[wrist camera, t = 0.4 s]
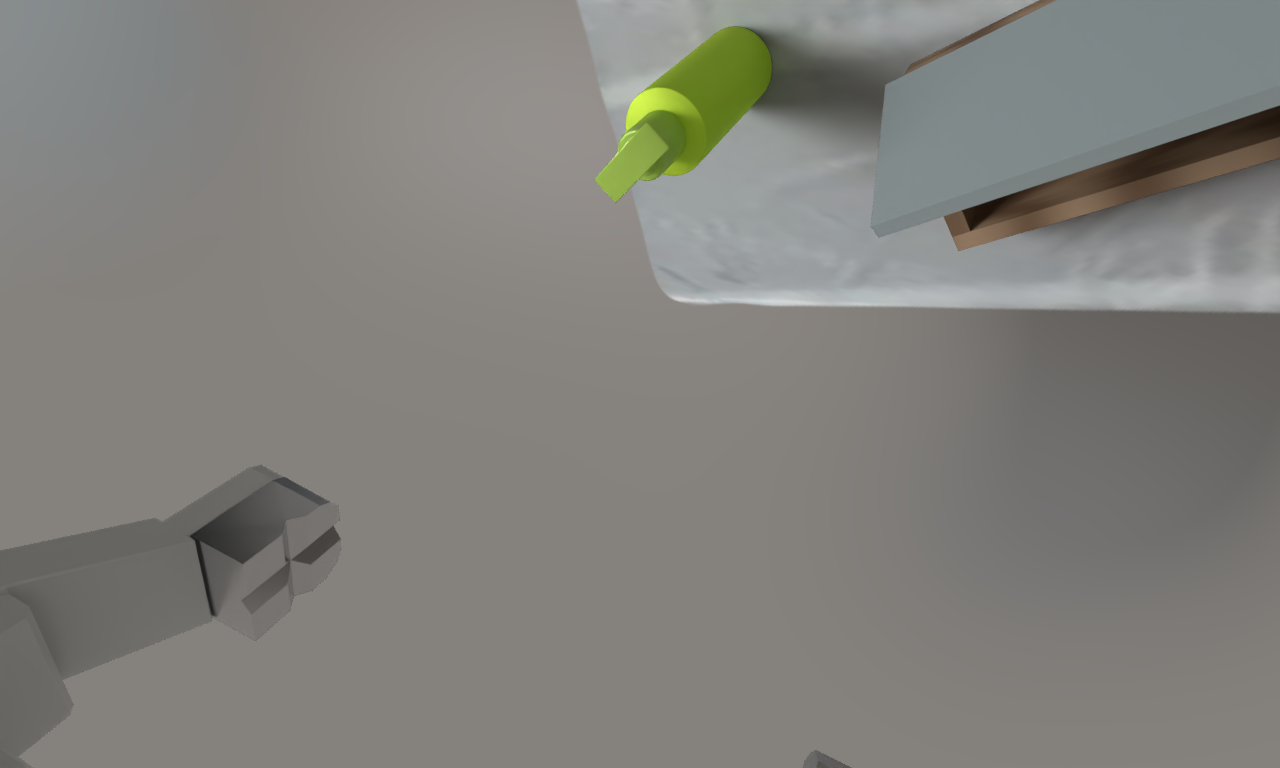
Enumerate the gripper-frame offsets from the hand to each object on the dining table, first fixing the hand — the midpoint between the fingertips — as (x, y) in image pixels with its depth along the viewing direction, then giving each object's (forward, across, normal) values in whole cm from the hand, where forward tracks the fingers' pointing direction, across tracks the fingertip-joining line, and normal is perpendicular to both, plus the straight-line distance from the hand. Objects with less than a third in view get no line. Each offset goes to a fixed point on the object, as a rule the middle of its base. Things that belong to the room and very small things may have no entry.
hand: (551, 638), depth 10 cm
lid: (+35, -10, -9) cm, 37 cm away
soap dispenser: (+50, +11, -4) cm, 51 cm away
